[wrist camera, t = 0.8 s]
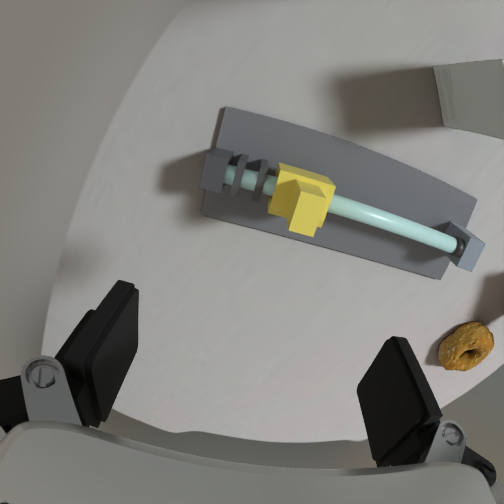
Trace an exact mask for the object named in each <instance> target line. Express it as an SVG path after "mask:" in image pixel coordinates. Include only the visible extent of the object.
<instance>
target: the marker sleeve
mask: <svg viewBox="0 0 504 504" xmlns="http://www.w3.org/2000/svg"><path fill="white" fill-rule="evenodd" d="M275 177H278V178H277V181H276V185H275V188H274V191H273V195H272V196H270V195H269V198H268V213H269V214H273V215H277V216H281V217H284V218H286V219H287V225H288V230H289V231H293V232H296V233H300V234H304V235H307V236H311V237H313V236H314V234H315V231H316V228H317V227H320V228H322V225H323V222H324V219H325V217H326V214H327V211H328V208H329V205H330V202H331V200H332V197H333V194H334V191H335V188H336V186H335V185H334V184H333V182H332V181H331V180H330V179H329V178H328V177H326V176H323V175H320V174H317V173H314V172H310V171H307V170H304V169H300V168H297V167H294V166H290V165H287V164H283V163H280V162H279V164H278V167H277V170H276V174H275Z"/></svg>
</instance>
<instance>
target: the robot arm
mask: <svg viewBox="0 0 504 504" xmlns="http://www.w3.org/2000/svg"><path fill="white" fill-rule="evenodd" d="M138 303H139V290H138V289H136V288H135V286H134V284H133V283H129V282H125V281H122V280H118V281H117V282H116V283H115V285H114V286H113V287H112V289H111V290H110V291H109V293H108V294H107V295H106V297H105V298H104V299H103V301H102V302H101V303H100V305H99V306H98V307H97V309H96V310H92V309H91V310H89V311H88V312H87V313H86V314H85V316H84V317H83V318H82V320H81V321H80V322H79V324H78V325H77V326H76V328H75V329H74V331H73V332H72V333H71V335H70V336H69V338H68V339H67V340H66V342H65V343H64V345H63V346H62V347H61V349H60V350H59V352H58V353H57V355H56V356H55V358H52V357H50V356H36V357H33V358H31V359H29V360H28V361H27V362H26V363H25V364H24V365H23V367H22V369H21V375H20V376H15V377H11V378H7V379H2V380H0V504H504V485H503V484H502V483H501V482H500V481H499V480H497V481H496V471H495V468H494V466H493V465H492V463H490V462H489V461H488V460H486V459H485V458H483V457H482V456H480V455H479V454H477V453H476V452H474V451H473V450H471V449H470V448H468V447H467V446H466V440H467V437H466V433H465V431H464V429H463V428H462V427H461V426H460V425H459V424H458V423H456V422H455V421H452V420H444V421H443V422H441V423H440V421H439V419H440V418H441V417H442V413H441V411H440V408H439V406H438V404H437V401H436V399H435V397H434V394H433V392H432V390H431V388H430V386H429V384H428V381H427V379H426V377H425V375H424V373H423V371H422V369H421V367H420V365H419V362H418V360H417V358H416V356H415V354H414V352H413V350H412V348H411V346H410V344H409V342H408V340H407V339H406V338H403V337H396V336H392V337H391V338H390V339H388V340H386V341H385V343H384V345H383V346H382V348H381V350H380V351H379V353H378V355H377V356H376V358H375V359H374V361H373V363H372V364H371V366H370V367H369V369H368V370H367V372H366V374H365V375H364V377H363V378H362V380H361V381H360V383H359V384H358V387H357V395H358V399H359V403H360V407H361V411H362V415H363V419H364V423H365V427H366V431H367V436H368V440H369V445H370V449H371V453H372V457H373V460H375V461H376V464H377V468H363V469H362V468H361V469H299V468H282V467H270V466H260V465H251V464H242V463H235V462H228V461H221V460H216V459H210V458H205V457H199V456H194V455H189V454H185V453H180V452H176V451H172V450H167V449H163V448H159V447H155V446H151V445H148V444H144V443H140V442H136V441H133V440H130V439H126V438H123V437H120V436H117V435H113V434H109V433H106V432H103V431H99V430H96V429H93V428H89V425H91V426H94V427H96V428H98V427H99V424H100V422H101V421H103V422H105V421H106V420H107V418H108V415H109V413H110V411H111V408H112V406H113V404H114V401H115V399H116V397H117V394H118V392H119V390H120V388H121V385H122V383H123V381H124V379H125V376H126V374H127V372H128V370H129V367H130V365H131V363H132V361H133V359H134V357H135V354H136V352H137V348H138ZM390 465H391V466H390Z"/></svg>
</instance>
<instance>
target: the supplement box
mask: <svg viewBox="0 0 504 504" xmlns="http://www.w3.org/2000/svg"><path fill="white" fill-rule="evenodd" d="M433 69H434V74H435V79H436V84H437V89H438V94H439V100H440V106H441V112H442V119H443V124H444V126H445V127H450V128H455V129H460V130H465V131H469V132H474V133H479V134H483V135H487V136H492V137H495V138H499V139H503V140H504V59H498V60H484V61H473V62H465V63H456V64H449V65H442V66H435V67H433Z"/></svg>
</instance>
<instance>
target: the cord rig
mask: <svg viewBox="0 0 504 504" xmlns="http://www.w3.org/2000/svg"><path fill="white" fill-rule="evenodd" d="M279 162H280V163H283V164H287V165H290V166H294V167H297V168H300V169H304V170H307V171H310V172H314V173H317V174H320V175H323V176H326V177H328V178H329V179H330V180H331V181H332V182H333V184H334V185H335V186H336V188H335V191H334V194H333V197H332V200H331V202H330V205H329V208H328V211H327V214H326V217H325V219H324V222H323V225H322V228H320V227H317V228H316V231H315V234H314V236H313V237H311V236H307V235H304V234H300V233H296V232H293V231H289V230H288V225H287V219H286V218H284V217H281V216H277V215H273V214H269V213H268V198H269V195H270V196H272V195H273V191H274V188H275V185H276V181H277V178H278V177H275V174H276V170H277V167H278V164H279ZM199 188H201V189H205V190H206V191H205V196H204V200H203V205H202V210H201V215H204V216H208V217H212V218H216V219H220V220H224V221H228V222H232V223H236V224H240V225H244V226H248V227H251V228H255V229H259V230H263V231H267V232H271V233H274V234H278V235H282V236H286V237H289V238H293V239H297V240H301V241H304V242H308V243H312V244H315V245H319V246H323V247H326V248H330V249H334V250H337V251H341V252H345V253H348V254H352V255H355V256H359V257H362V258H366V259H369V260H373V261H376V262H380V263H383V264H387V265H390V266H394V267H397V268H401V269H404V270H408V271H411V272H414V273H418V274H421V275H425V276H428V277H431V278H435V279H438V280H441V278H442V276H443V274H444V273H445V271H446V269H447V267H448V265H449V263H450V261H452V262H453V263H454V264H455V265H456V266H457V267H459V268H462V269H464V270H467V271H470V272H472V270H473V268H474V267H475V265H476V263H477V261H478V259H479V256H480V254H481V252H482V250H483V248H484V246H485V243H484V242H482V241H481V240H480V239H479V238H477V237H476V236H475V235H474V234H472V233H471V232H470V231H468V230H467V229H466V226H467V224H468V222H469V219H470V217H471V214H472V212H473V209H474V207H475V204H476V202H477V199H476V198H474V197H472V196H470V195H468V194H466V193H465V192H463V191H461V190H459V189H457V188H455V187H453V186H451V185H449V184H447V183H445V182H443V181H441V180H439V179H437V178H435V177H432V176H430V175H428V174H426V173H424V172H422V171H419V170H417V169H415V168H413V167H410V166H408V165H406V164H404V163H401V162H399V161H397V160H394V159H392V158H389V157H387V156H384V155H382V154H379V153H377V152H374V151H372V150H369V149H367V148H364V147H361V146H359V145H356V144H353V143H350V142H348V141H345V140H342V139H339V138H336V137H333V136H330V135H327V134H324V133H321V132H318V131H315V130H312V129H309V128H306V127H302V126H299V125H296V124H292V123H289V122H285V121H282V120H278V119H275V118H271V117H267V116H263V115H259V114H255V113H251V112H247V111H243V110H239V109H235V108H230V107H226V108H225V112H224V115H223V119H222V123H221V127H220V131H219V135H218V139H217V143H216V147H215V148H214V149H213V150H211V151H210V152H208V153H207V154H206V158H205V162H204V167H203V171H202V176H201V180H200V185H199Z"/></svg>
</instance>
